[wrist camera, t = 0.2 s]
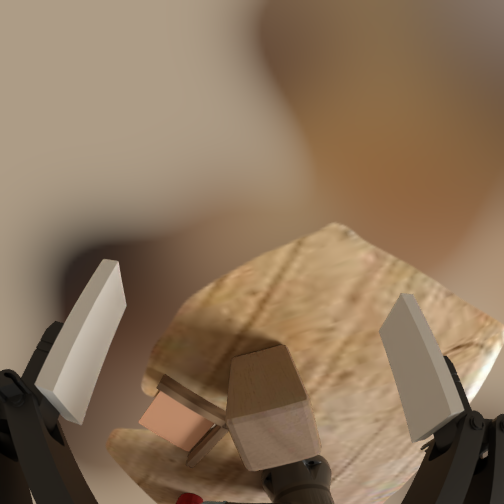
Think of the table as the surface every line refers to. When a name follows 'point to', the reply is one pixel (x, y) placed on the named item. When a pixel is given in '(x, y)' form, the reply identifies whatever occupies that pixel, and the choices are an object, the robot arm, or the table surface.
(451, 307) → the table surface
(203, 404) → the arena
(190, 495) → the plastic cup
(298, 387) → the block
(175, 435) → the tile
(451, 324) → the table surface
